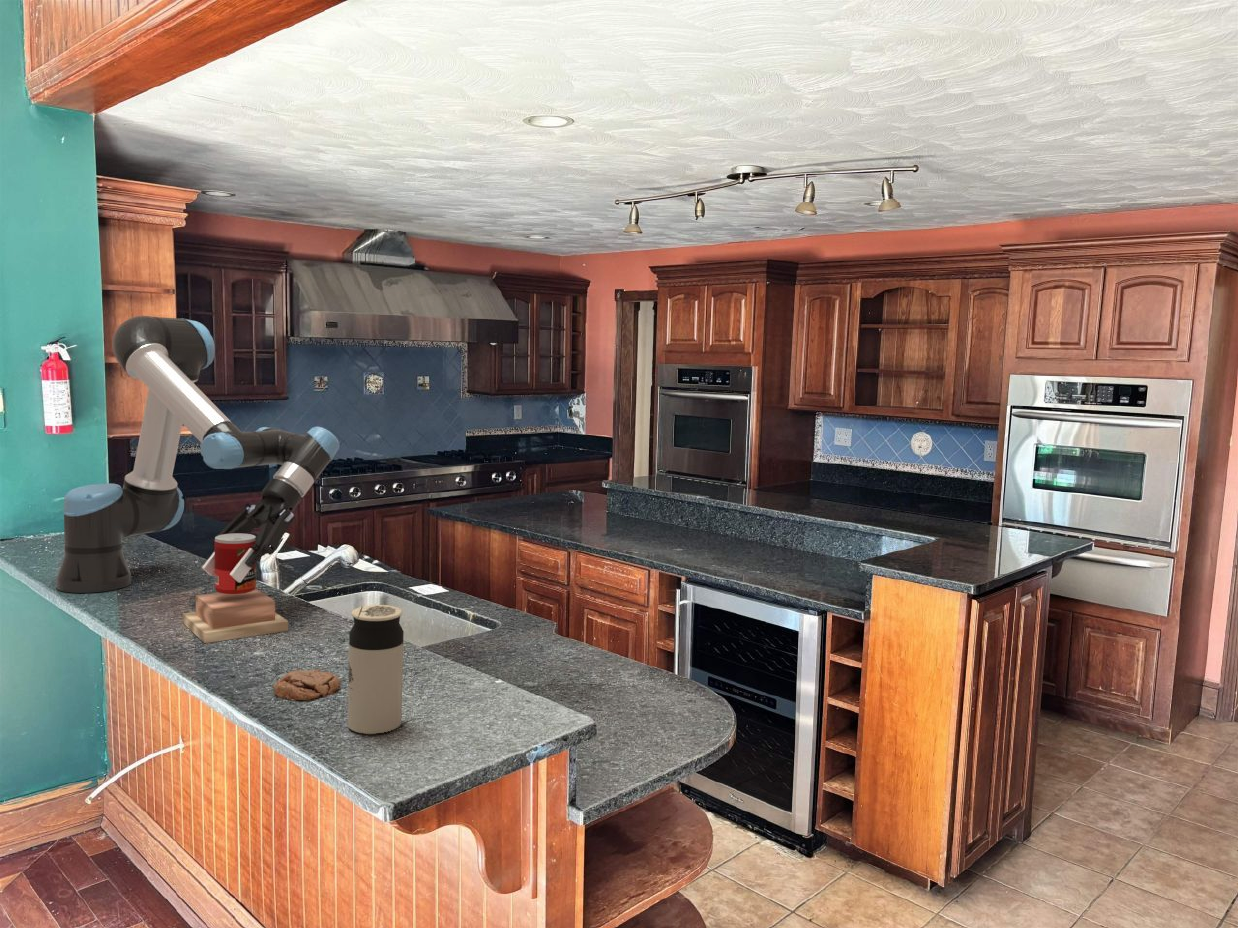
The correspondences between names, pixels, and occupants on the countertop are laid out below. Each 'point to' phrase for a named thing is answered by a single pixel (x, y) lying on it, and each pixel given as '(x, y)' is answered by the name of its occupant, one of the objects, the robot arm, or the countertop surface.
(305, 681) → the cookie
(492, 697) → the countertop surface
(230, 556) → the canned food
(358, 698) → the travel mug
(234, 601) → the stand
